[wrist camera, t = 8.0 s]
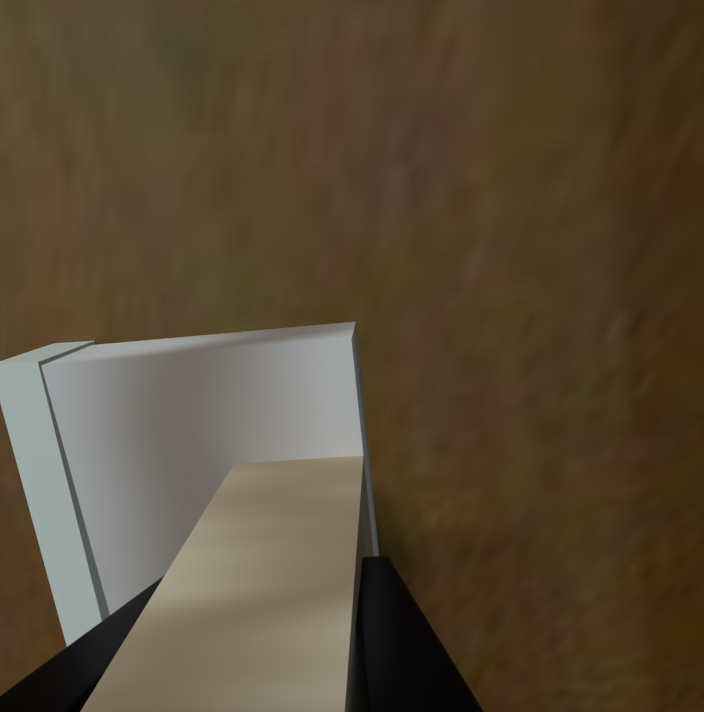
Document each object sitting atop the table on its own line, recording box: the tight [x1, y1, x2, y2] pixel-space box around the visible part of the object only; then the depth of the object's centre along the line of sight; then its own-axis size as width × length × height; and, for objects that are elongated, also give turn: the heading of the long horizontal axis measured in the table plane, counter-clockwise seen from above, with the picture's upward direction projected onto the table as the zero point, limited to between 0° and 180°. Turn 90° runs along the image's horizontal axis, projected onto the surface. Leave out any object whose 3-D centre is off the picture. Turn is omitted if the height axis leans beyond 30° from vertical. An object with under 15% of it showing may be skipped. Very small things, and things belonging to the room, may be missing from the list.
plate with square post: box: [41, 322, 379, 712], centre depth 7 cm, size 6×7×9 cm
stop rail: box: [0, 341, 110, 647], centre depth 19 cm, size 2×22×3 cm, turn 4°
